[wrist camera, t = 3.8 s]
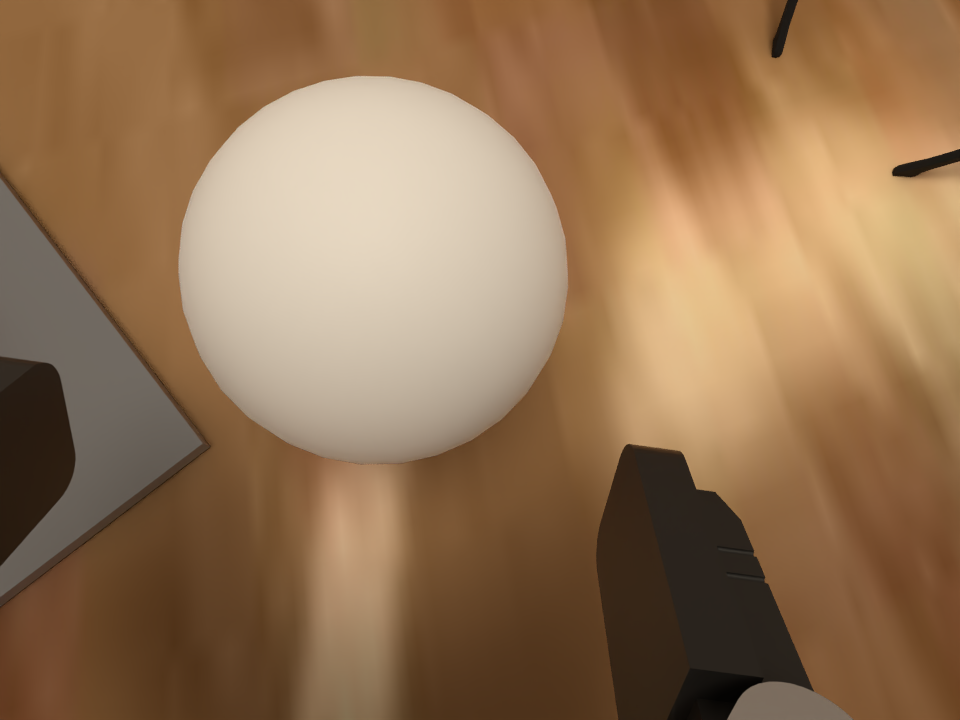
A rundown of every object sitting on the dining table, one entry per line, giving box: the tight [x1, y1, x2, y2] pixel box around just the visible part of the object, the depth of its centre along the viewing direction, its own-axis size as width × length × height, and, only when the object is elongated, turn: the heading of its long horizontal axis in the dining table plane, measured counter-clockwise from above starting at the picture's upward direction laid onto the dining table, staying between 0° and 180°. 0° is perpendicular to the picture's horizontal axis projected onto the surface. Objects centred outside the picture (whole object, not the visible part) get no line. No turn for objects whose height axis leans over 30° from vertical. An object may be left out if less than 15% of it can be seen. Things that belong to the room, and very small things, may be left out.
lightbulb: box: [179, 76, 568, 464], centre depth 13 cm, size 6×6×11 cm
